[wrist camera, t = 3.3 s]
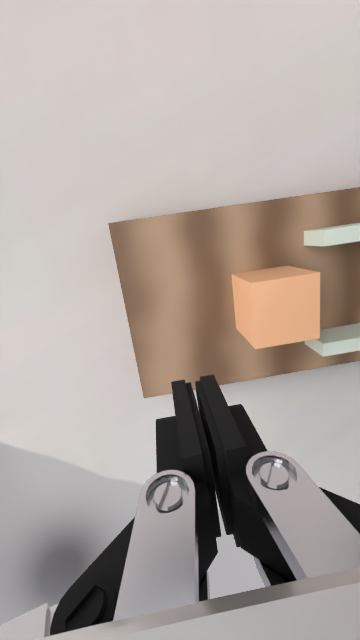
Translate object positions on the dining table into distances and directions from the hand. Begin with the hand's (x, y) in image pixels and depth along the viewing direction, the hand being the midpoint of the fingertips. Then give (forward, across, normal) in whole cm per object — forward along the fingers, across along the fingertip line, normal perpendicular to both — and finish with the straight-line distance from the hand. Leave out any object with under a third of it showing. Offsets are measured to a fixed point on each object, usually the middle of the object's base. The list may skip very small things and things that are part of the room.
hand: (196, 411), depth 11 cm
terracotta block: (+14, -8, 0) cm, 17 cm away
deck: (+18, -20, 0) cm, 27 cm away
